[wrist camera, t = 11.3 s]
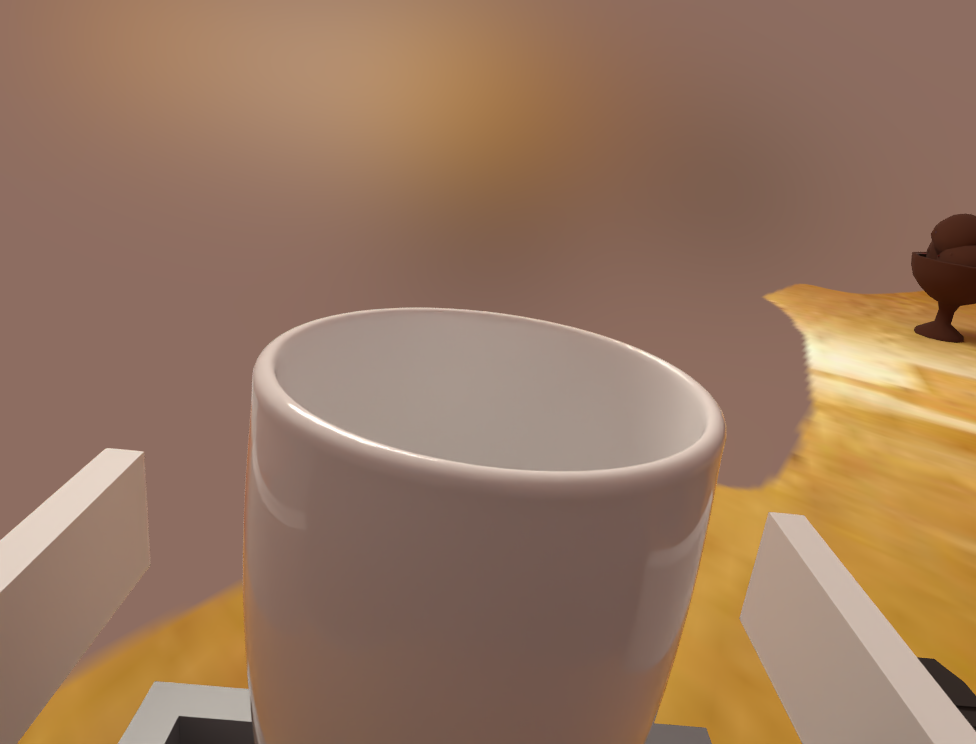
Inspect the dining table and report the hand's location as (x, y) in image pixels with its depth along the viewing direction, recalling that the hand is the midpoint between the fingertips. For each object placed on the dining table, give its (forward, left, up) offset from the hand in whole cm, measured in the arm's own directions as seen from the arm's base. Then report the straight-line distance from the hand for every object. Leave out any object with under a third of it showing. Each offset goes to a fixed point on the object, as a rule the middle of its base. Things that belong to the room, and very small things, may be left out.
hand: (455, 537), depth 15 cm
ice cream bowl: (-59, -73, -11) cm, 95 cm away
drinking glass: (0, +3, -10) cm, 11 cm away
